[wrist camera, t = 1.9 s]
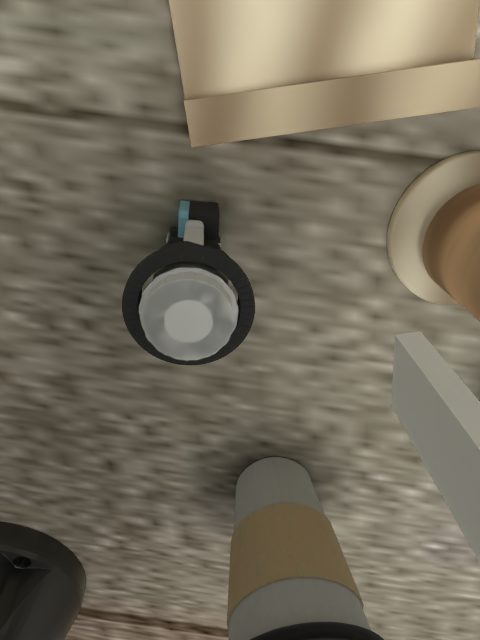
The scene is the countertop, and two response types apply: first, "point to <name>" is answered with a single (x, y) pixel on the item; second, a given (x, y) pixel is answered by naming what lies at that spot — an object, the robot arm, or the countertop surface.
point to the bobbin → (440, 233)
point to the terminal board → (321, 63)
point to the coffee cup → (288, 562)
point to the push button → (189, 294)
